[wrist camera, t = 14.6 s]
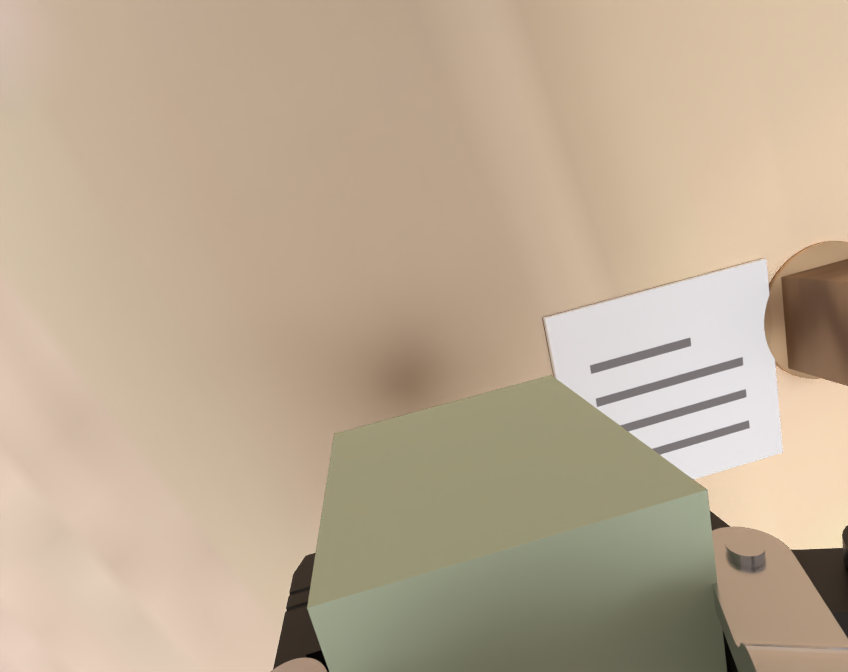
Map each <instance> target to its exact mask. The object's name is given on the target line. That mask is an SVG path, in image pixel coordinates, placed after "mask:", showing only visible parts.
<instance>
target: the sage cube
mask: <svg viewBox="0 0 848 672" xmlns="http://www.w3.org/2000/svg"><path fill="white" fill-rule="evenodd" d="M714 583H717V574H716V565H715V555H714V546H713V537H712V528H711V519H710V509H709V500H708V491H707V489H706V488H704V487H703V486H702V485H700V484H699V483H697V482H696V481H695V480H693V479H692V478H691V477H689V476H688V475H687V474H685V473H684V472H683V471H681V470H680V469H678V468H677V467H676V466H674V465H673V464H672V463H670V462H669V461H668V460H666V459H665V458H663V457H662V456H661V455H659V454H658V453H657V452H655V451H654V450H653V449H651V448H650V447H648V446H647V445H646V444H644V443H643V442H642V441H640V440H639V439H638V438H636V437H635V436H634V435H632V434H631V433H629V432H628V431H627V430H625V429H624V428H623V427H621V426H620V425H619V424H617V423H616V422H614V421H613V420H612V419H610V418H609V417H608V416H606V415H605V414H604V413H602V412H601V411H600V410H598V409H597V408H595V407H594V406H593V405H591V404H590V403H589V402H587V401H586V400H585V399H583V398H582V397H580V396H579V395H578V394H576V393H575V392H574V391H572V390H571V389H570V388H568V387H567V386H565V385H564V384H563V383H561V382H560V381H559V380H557V379H556V378H555V377H553V376H552V375H550V376H546V377H542V378H538V379H535V380H531V381H527V382H524V383H520V384H516V385H513V386H509V387H505V388H502V389H498V390H494V391H490V392H487V393H483V394H479V395H476V396H472V397H468V398H465V399H461V400H457V401H454V402H450V403H446V404H442V405H439V406H435V407H431V408H428V409H424V410H420V411H417V412H413V413H409V414H406V415H402V416H398V417H394V418H391V419H387V420H383V421H380V422H376V423H372V424H369V425H365V426H361V427H358V428H354V429H350V430H346V431H343V432H339V433H335V434H334V438H333V444H332V451H331V457H330V464H329V470H328V477H327V483H326V489H325V496H324V502H323V509H322V515H321V522H320V528H319V534H318V541H317V547H316V554H315V560H314V567H313V573H312V579H311V586H310V592H309V599H308V605H307V609H308V612H309V615H310V618H311V621H312V624H313V627H314V629H315V632H316V635H317V638H318V641H319V644H320V647H321V650H322V652H323V655H324V658H325V661H326V664H327V667H328V670H329V672H727V666H726V657H725V647H724V638H723V629H722V626H721V624H720V621H719V618H718V616H717V613H716V610H715V602H714V594H713V585H712V584H714Z"/></svg>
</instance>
